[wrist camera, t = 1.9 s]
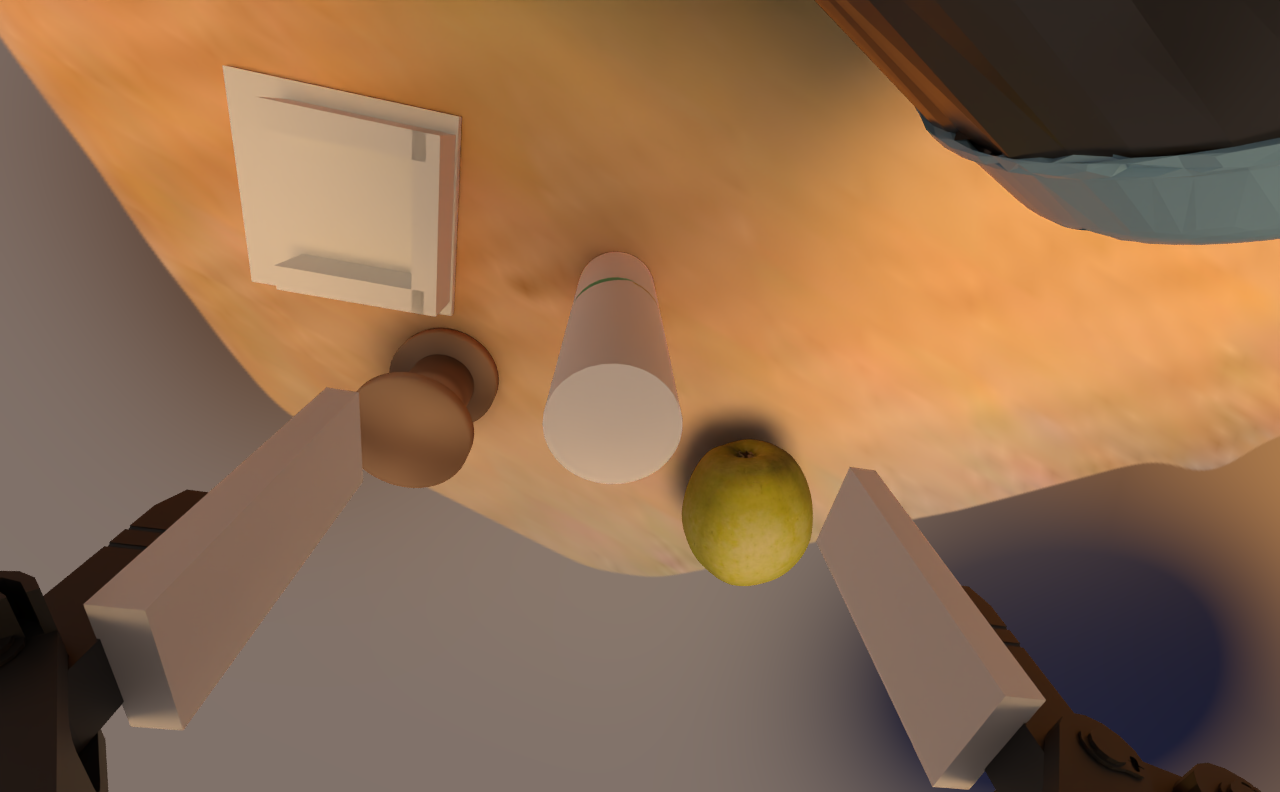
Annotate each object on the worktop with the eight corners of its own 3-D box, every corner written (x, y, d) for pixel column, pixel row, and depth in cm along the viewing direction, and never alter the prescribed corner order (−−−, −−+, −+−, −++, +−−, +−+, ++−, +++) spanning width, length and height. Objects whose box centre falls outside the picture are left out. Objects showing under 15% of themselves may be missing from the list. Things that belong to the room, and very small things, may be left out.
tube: (667, 272, 29) (707, 397, 16) (634, 338, 31) (645, 501, 17) (596, 238, 28) (575, 340, 15) (566, 308, 30) (522, 456, 16)
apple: (677, 529, 38) (691, 623, 31) (673, 419, 33) (688, 499, 26) (786, 522, 38) (825, 614, 31) (796, 411, 33) (843, 488, 26)
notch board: (229, 66, 24) (181, 59, 21) (461, 116, 25) (443, 116, 23) (257, 279, 28) (220, 295, 26) (453, 313, 30) (437, 331, 27)
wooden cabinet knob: (395, 319, 30) (336, 371, 24) (502, 337, 30) (472, 392, 24) (396, 411, 32) (343, 478, 26) (494, 425, 33) (466, 495, 27)
